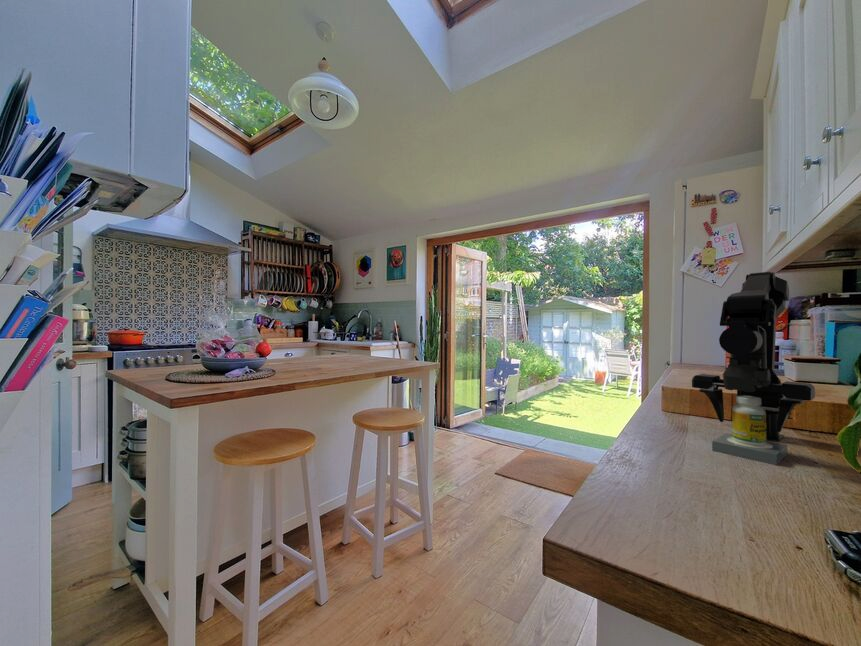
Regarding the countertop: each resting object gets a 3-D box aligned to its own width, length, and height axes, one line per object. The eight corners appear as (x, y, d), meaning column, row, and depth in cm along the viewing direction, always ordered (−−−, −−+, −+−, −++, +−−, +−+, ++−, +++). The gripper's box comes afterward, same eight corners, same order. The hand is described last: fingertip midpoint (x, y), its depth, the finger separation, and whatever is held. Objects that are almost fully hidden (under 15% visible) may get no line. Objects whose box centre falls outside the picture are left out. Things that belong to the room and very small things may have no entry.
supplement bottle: (747, 437, 77) (746, 394, 77) (774, 446, 72) (773, 399, 72) (725, 438, 76) (725, 395, 76) (751, 447, 71) (750, 400, 71)
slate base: (726, 441, 81) (726, 432, 81) (787, 454, 73) (787, 444, 73) (712, 450, 75) (712, 440, 75) (776, 465, 67) (776, 454, 67)
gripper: (682, 352, 77) (683, 422, 77) (805, 358, 62) (806, 445, 62) (700, 350, 84) (700, 415, 83) (814, 355, 69) (816, 434, 68)
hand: (748, 426), depth 74 cm, fingers open, 9 cm apart
